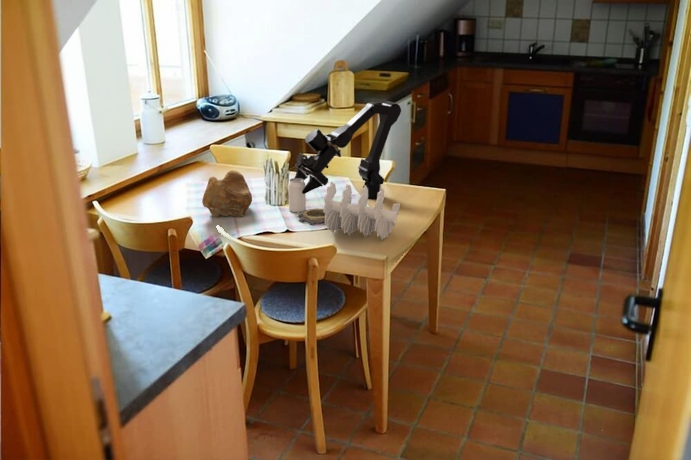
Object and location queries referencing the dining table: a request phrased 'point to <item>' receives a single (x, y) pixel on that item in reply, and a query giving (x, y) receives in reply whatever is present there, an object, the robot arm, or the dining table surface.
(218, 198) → the rough brown rock
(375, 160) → the robot arm
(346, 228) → the white pleated crown
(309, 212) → the gear plate
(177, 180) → the dining table surface
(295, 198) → the can
